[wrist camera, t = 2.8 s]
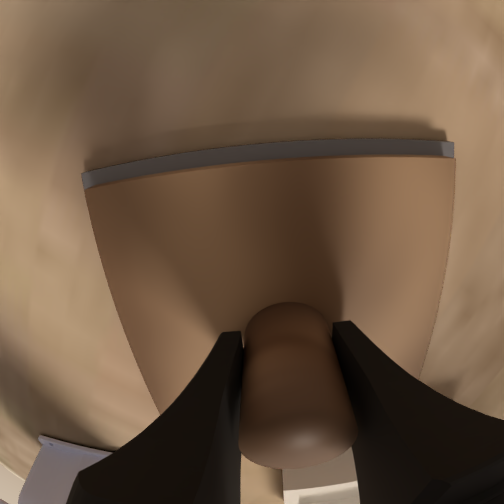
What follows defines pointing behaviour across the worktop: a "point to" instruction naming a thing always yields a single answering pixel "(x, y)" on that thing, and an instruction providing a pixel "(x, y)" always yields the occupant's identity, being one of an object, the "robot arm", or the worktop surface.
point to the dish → (323, 482)
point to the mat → (267, 155)
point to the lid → (278, 281)
